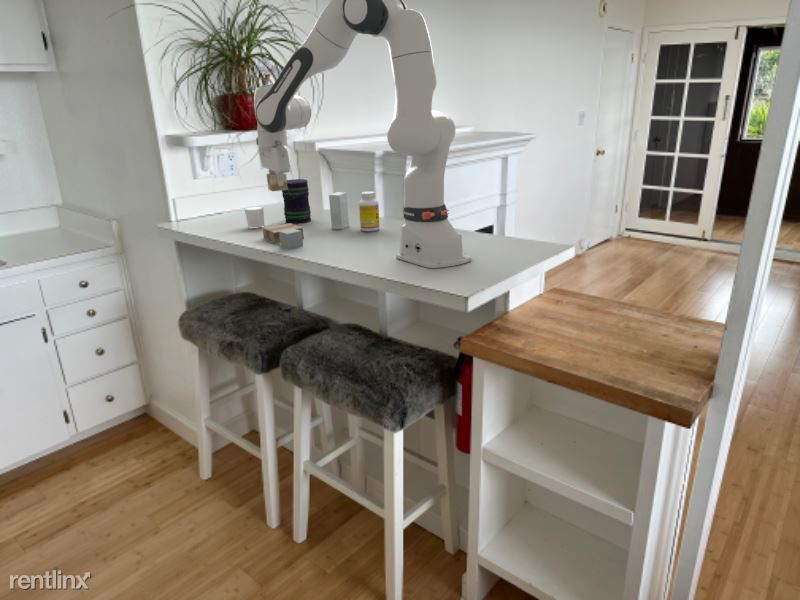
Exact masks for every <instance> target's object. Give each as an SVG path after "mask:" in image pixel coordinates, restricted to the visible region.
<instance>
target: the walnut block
mask: <svg viewBox="0 0 800 600" xmlns="http://www.w3.org/2000/svg"><path fill="white" fill-rule="evenodd" d="M288 229H296V230H300V231H302V240H304V238H305V237H304V228H303V227H302V226H299V225H297V224H291V223H284V224H278V225H271V226H264V227H262V234H263V239H264V238H265V239H264V240H266V239H267V241H268V240H269V241H268V242H270V241H271V243H272V242H273V244H274V243H275V245H277V243H278V244H280V236H279V231H284V230H288Z"/></svg>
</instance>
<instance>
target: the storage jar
mask: <svg viewBox="0 0 800 600" xmlns="http://www.w3.org/2000/svg"><path fill="white" fill-rule="evenodd" d="M308 183H309V182H308V179H301V178H300V179H296V178H295V179H287V186H288V190H281V196H282V197H283V211H284V212H283V213H284V219H285V224H288V223H291V224H294V225H300V223H301V224H307V223H310V222H311V221H312V219H311V206H310V201H309V196H310V192H309V191H310V190H309V184H308Z"/></svg>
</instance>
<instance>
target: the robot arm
mask: <svg viewBox="0 0 800 600" xmlns="http://www.w3.org/2000/svg"><path fill="white" fill-rule="evenodd" d="M359 34H362V35H366V36H367V35H368V36H371V37H373V38H384V39H385V41H386V43H387V45H388V52H389V59H390V64H391V71H392V79H393V86H394V107H393V115H392V119H391V122H390V123H389V125H388V128H387V133H386V138H387V142H388V146H389V147H390V149H391V150H392V151H393V152H394V153H396V154H398V155H401V156H406V157H410V161H409V165H408V166H409V167H408V168H407V171H406V172H405V174H404V178H403V190H404V192H403V193H404V205H403V210H402V213H403V218H404V222H403V224H402V225H401V228H400V231H399V233H400V235H399V252H397V253H396V254H395V258H396V259H398V260H401V261H405V262H408V263H411V264H415V265H419V266H421V267H425V268H428V269H439V268H440V269H441V268H448V267H453V266H459V265H463V264H465V263H469V262H471V261H472V256H471V255H469V254H468V253H466V252H465V251H463V242H462V241H463V240H462V239H463V236H462V234H461V233H458V232H457V230H456V229H455V227H454V226H453V225H452V224H451V222H450V221H449V214H450V213H449V211H450V210H449V209H447V206H446V203H445V172H446V167H447V161H448V156H449V151H450V149H451V148H450V147H451V145H452V143H453V141H454V139H455V136H456V126H455V125H456V124H455V122H454V120H453V119H452V118H451V116H449V115H448V114H446V113H444V112H442V111H439V110H433V109H432V108H433V107H432V106H433V105H432V104H433V95H434V92H435V90H436V87H437V77H436V69H435V61H434V53H433V48H432V42H431V37H430V34H429V29H428V26H427V23H426V20H425V17H424V15H423V14H422V12H419V11H418V10H415V9H413V8H411V9H410V8H408V6H407V4H406V3H405V1H404V0H329V1H328V3H327V5H326V6H325V7H324V8H323V10H322V11H321V13H320V14H319V16H318V18H317V20H316V21H315V24H314V26H313V27H312V29H311V31H310V33H309V34H308V36H307V37H306V38H305V41H303V43H302V44H301V45H300V46H299V47H298V48H297V50H296V51H295V52H294V53H293V54H292V55H291V57H290V58H289V60H288V61H287V63H286V64H285V66H284V67H283V69H282V71H280V74H279V75H278V77H277V78H276V80H275V82H274V83H269V84H265V85H261V86H259V87H257V88H255V91H254V95H253V105H254V108H253V109H254V114H255V119H256V122H257V128H256V134H257V137H256V139H255V141H256V142H255V143H256V145H257V146H258V153H259V158H260V162H261V165H262V167H263V168H265V169H267V170H268V174H270V173H276V175H277V185H278V186H283V185H284V183H283V179H284V173H285V174H287V173H290V172H291V165H290V158H289V157H290V156H289V152H288V149H287V147H286V146H287V145H288V137H287V131H291V130H296V129H297V130H298V129H301V128H304V127H306V126H308V124H309V123H310V121H311V117H312V108H311V106H310V103H309V102H308V100H307V99H306V98H305V97H303V96H300V95H296V94H297V92H299V90H300V88H301V87H302V85H303V84H304V83H305V82H306V81H307V80H308V79H309V78H311V77H313V76H315V75H317V74H320V73H323V72H326V71H330V70H332V69H334V68H336V67H338V65H339V64H340V63H341V62H342V61H343V60H344V59H345V57H346V55H347V54H348V53H349V50H350V49H351V47H352V45H353V43H354V41H355V39H357V37H358V35H359Z"/></svg>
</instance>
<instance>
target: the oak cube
mask: <svg viewBox="0 0 800 600" xmlns="http://www.w3.org/2000/svg"><path fill="white" fill-rule="evenodd" d="M287 180H288V178H287V173H284V179H283V183H284V185H283V186H278V185H277V175H276V173H270V174H269V173H266V181H267V189H268V190H269V191H270V192H279V191H281V192H282V190H288V186H287Z"/></svg>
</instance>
